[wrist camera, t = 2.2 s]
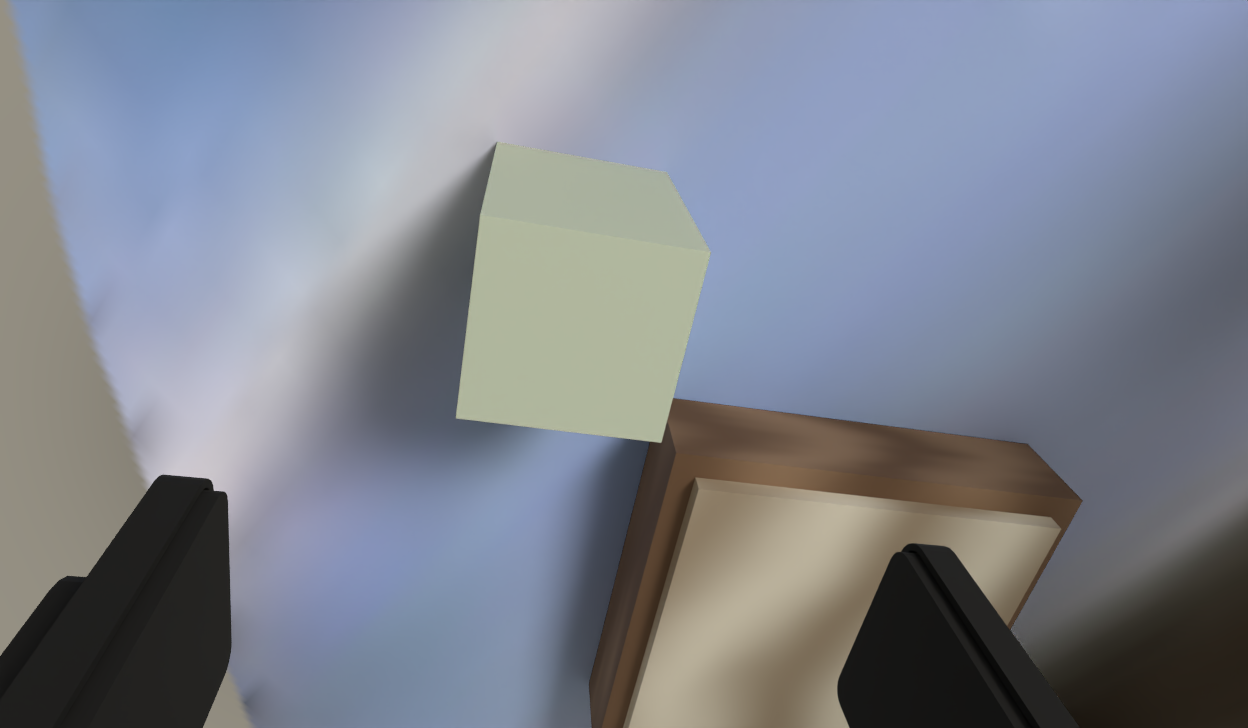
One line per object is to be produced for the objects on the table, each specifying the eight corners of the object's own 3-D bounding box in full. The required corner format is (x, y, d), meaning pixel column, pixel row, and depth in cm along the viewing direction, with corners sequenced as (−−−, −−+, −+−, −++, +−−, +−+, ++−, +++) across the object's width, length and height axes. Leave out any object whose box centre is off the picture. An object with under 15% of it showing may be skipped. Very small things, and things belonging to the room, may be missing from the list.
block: (666, 172, 23) (711, 252, 17) (632, 323, 26) (661, 442, 20) (497, 141, 23) (480, 214, 16) (477, 301, 25) (455, 418, 19)
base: (1027, 444, 29) (1093, 511, 26) (896, 703, 36) (935, 787, 32) (661, 396, 27) (679, 464, 23) (589, 684, 33) (594, 771, 30)
